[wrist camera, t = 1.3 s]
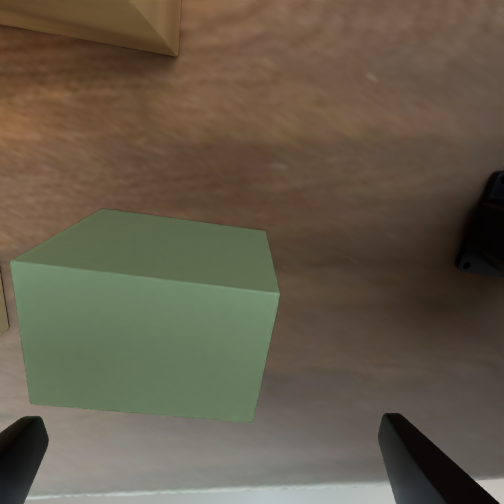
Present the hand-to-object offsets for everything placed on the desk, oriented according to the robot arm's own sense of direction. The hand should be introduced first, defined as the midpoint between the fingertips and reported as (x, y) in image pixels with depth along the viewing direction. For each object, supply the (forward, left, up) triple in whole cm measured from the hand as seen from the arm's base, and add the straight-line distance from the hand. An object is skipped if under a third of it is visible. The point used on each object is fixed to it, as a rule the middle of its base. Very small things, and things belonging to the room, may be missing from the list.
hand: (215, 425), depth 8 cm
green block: (+3, +2, -13) cm, 13 cm away
